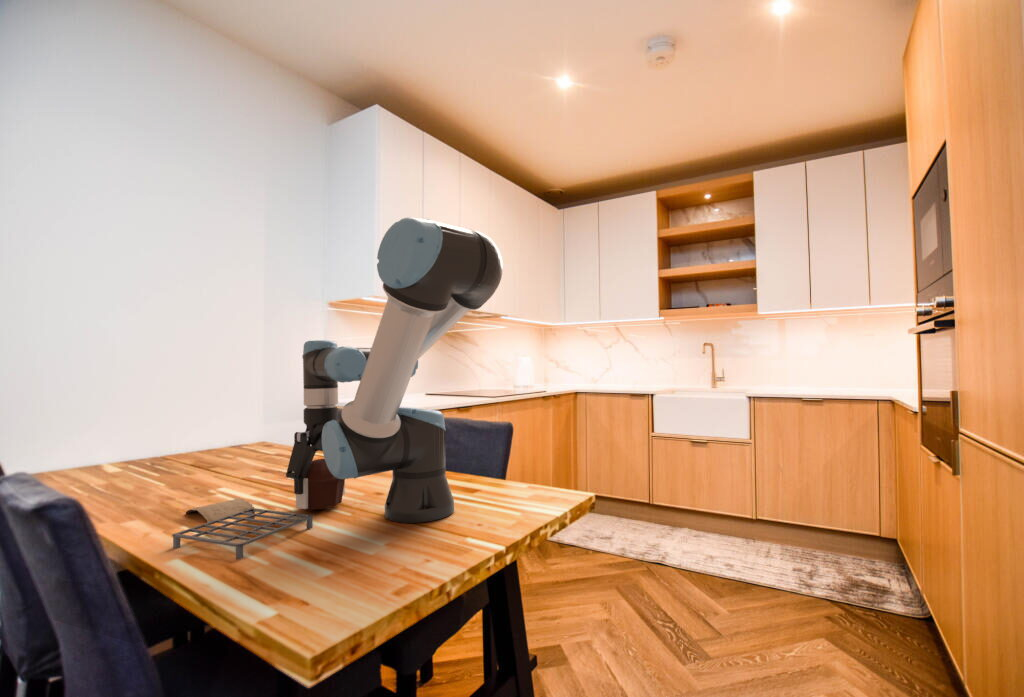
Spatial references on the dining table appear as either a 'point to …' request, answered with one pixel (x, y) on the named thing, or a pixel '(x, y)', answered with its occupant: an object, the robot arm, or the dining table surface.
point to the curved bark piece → (222, 509)
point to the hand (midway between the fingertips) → (321, 500)
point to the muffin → (323, 486)
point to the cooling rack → (250, 518)
